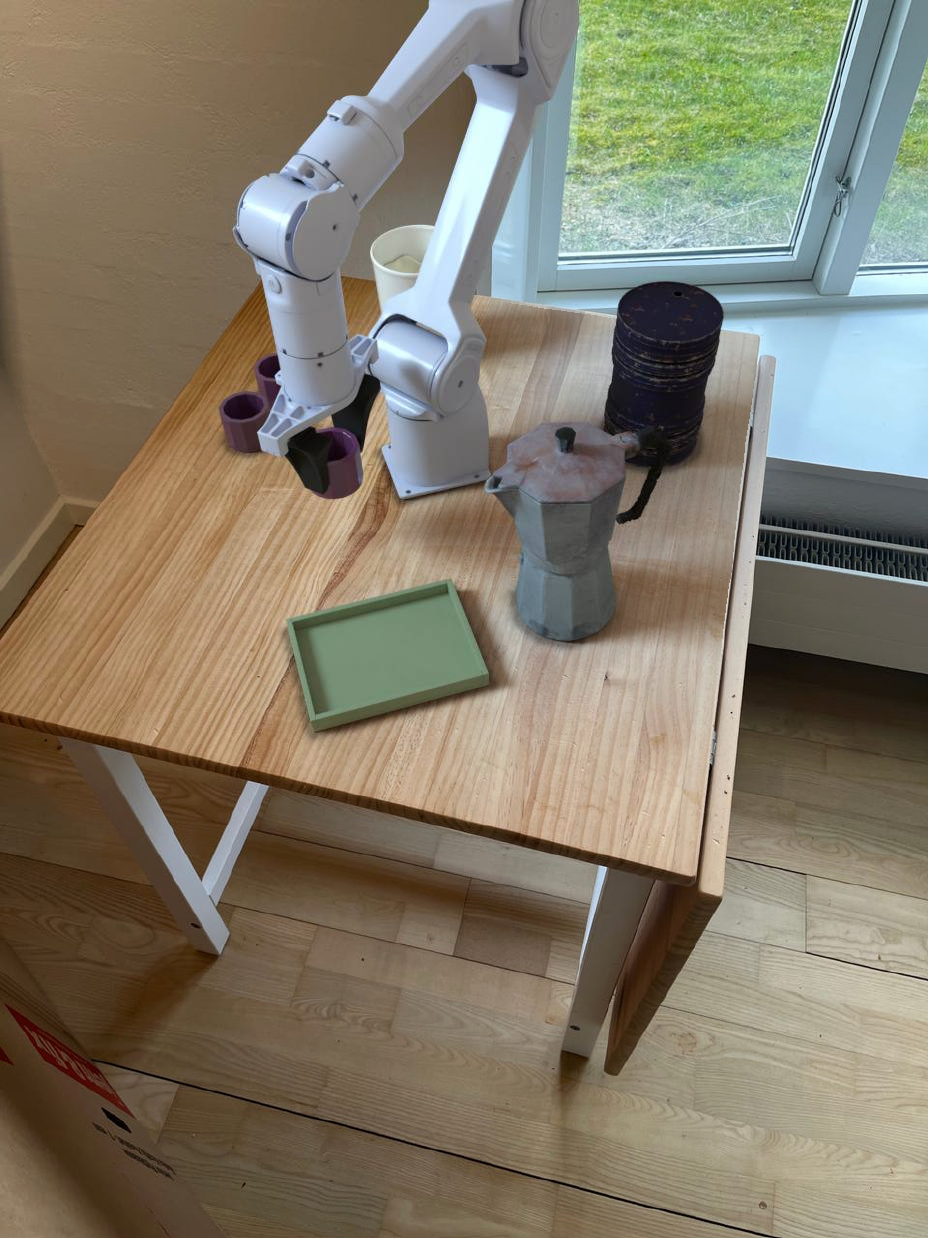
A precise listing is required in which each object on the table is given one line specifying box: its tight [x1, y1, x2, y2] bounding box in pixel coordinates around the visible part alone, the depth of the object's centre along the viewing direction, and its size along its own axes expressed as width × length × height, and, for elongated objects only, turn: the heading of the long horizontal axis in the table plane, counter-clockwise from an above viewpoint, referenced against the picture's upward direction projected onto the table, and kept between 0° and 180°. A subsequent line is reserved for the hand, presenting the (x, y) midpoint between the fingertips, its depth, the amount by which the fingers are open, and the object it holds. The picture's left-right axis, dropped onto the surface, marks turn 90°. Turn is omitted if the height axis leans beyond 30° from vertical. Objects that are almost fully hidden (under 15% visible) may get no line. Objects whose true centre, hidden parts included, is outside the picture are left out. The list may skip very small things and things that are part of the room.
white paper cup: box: [369, 224, 446, 339], centre depth 105 cm, size 10×10×12 cm
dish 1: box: [218, 390, 271, 453], centre depth 98 cm, size 5×5×4 cm
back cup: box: [253, 352, 282, 411], centre depth 102 cm, size 5×5×4 cm
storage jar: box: [602, 280, 725, 469], centre depth 93 cm, size 10×10×15 cm
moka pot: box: [483, 421, 673, 642], centre depth 77 cm, size 10×15×20 cm, turn 113°
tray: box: [285, 577, 490, 733], centre depth 81 cm, size 15×11×2 cm
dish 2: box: [310, 426, 364, 500], centre depth 84 cm, size 5×5×4 cm
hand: (334, 468), depth 84 cm, fingers closed on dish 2, 5 cm apart
